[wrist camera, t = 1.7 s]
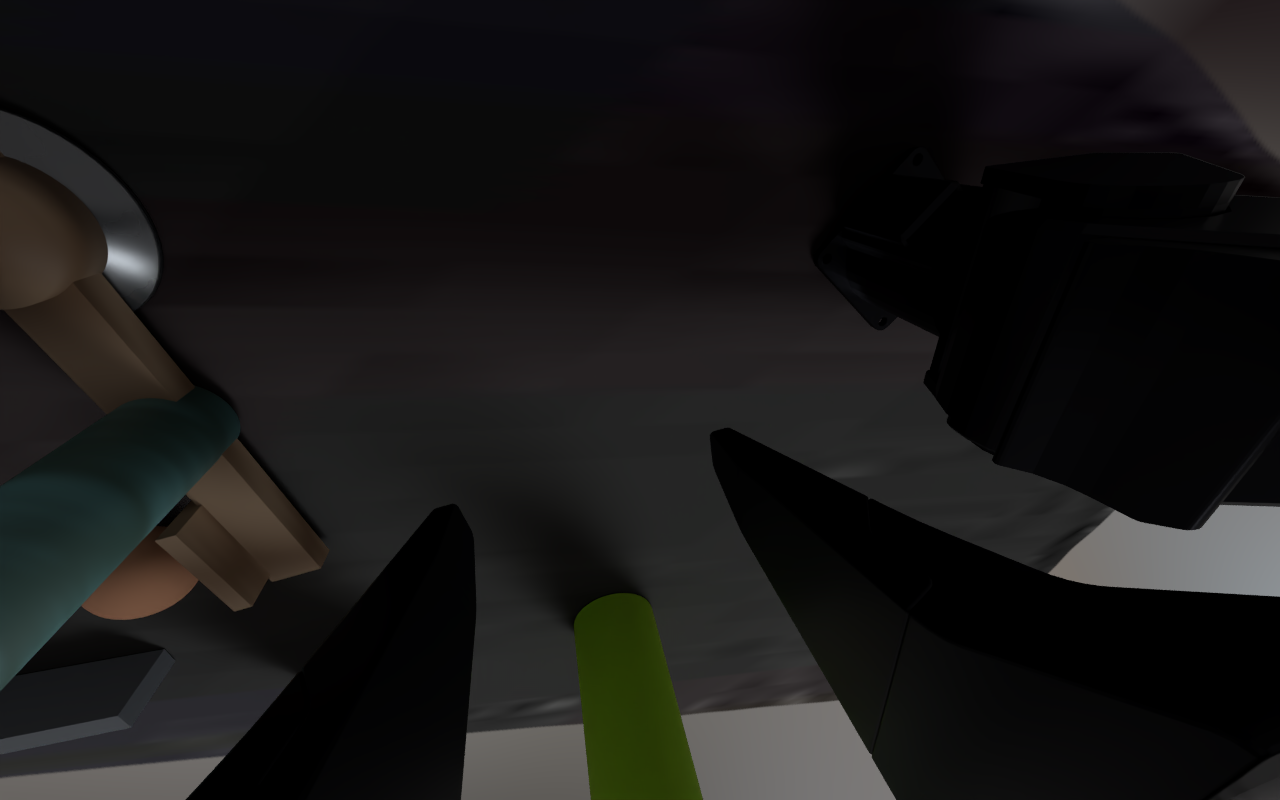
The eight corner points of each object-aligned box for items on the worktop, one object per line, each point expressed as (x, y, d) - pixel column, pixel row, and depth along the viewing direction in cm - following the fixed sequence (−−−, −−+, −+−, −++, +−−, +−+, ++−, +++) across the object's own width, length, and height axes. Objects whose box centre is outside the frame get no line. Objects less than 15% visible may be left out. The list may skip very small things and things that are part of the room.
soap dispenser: (552, 608, 31) (585, 1161, 14) (649, 584, 32) (785, 1076, 15) (566, 654, 34) (606, 1155, 17) (654, 631, 35) (772, 1085, 18)
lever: (-122, 166, 14) (-2030, 260, 3) (35, 137, 14) (-1249, 146, 4) (265, 565, 24) (72, 885, 14) (349, 541, 24) (223, 835, 14)
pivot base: (-208, 125, 13) (-223, 125, 13) (54, 80, 14) (44, 79, 13) (11, 341, 17) (3, 344, 17) (208, 297, 17) (204, 300, 17)
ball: (235, 525, 23) (184, 593, 19) (205, 574, 24) (153, 647, 20) (133, 496, 21) (58, 566, 17) (107, 551, 22) (30, 627, 18)
